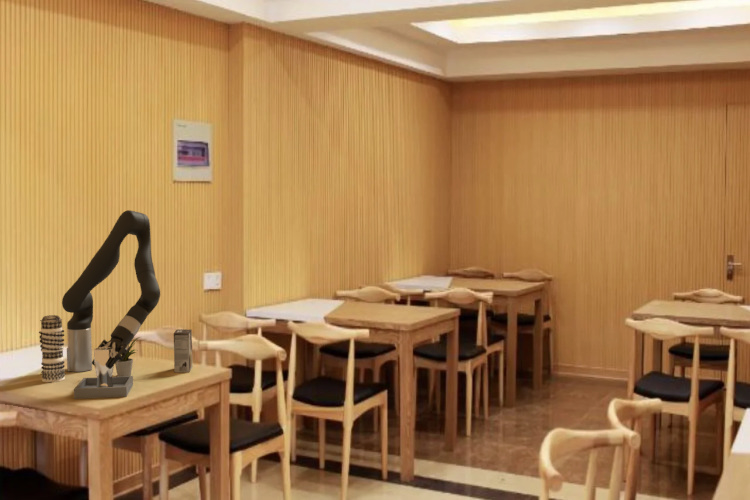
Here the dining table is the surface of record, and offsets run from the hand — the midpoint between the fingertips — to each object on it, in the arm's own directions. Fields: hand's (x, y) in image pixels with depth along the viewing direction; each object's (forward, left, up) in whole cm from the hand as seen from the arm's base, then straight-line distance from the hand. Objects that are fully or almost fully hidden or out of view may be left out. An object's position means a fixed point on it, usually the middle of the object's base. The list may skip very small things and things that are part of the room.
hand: (100, 366), depth 309 cm
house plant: (+5, +29, -10) cm, 31 cm away
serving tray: (+1, +1, -10) cm, 10 cm away
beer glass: (+1, +1, -9) cm, 9 cm away
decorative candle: (-22, +25, -10) cm, 35 cm away
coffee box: (+27, +34, -10) cm, 44 cm away
